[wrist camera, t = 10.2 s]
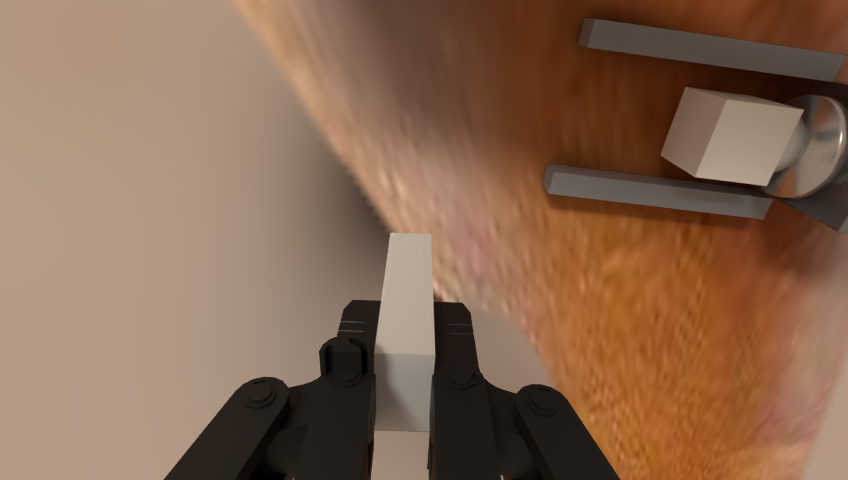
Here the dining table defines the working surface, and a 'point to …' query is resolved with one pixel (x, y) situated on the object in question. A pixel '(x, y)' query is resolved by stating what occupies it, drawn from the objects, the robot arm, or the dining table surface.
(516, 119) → the dining table surface
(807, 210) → the button station
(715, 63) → the guide rails
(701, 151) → the cube with cylindrical stub
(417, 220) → the dining table surface
